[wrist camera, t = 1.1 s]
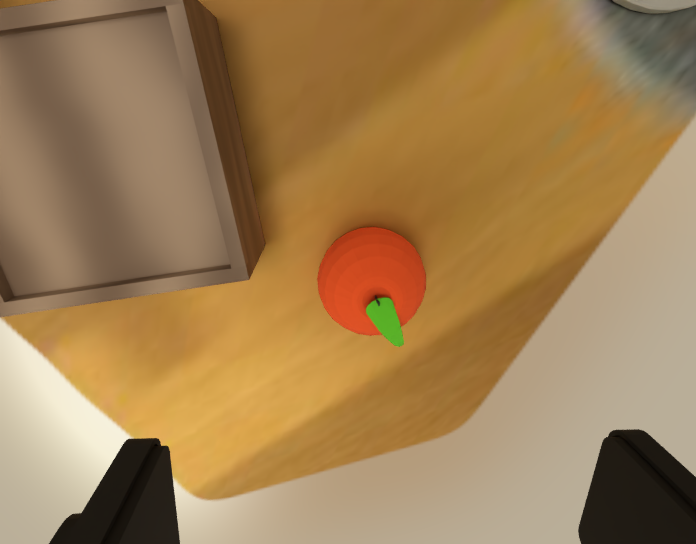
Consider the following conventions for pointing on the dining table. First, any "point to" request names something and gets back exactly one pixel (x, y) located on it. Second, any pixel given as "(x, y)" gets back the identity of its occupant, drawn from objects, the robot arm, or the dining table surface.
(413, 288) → the clementine
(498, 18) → the dining table surface
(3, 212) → the walnut stand
